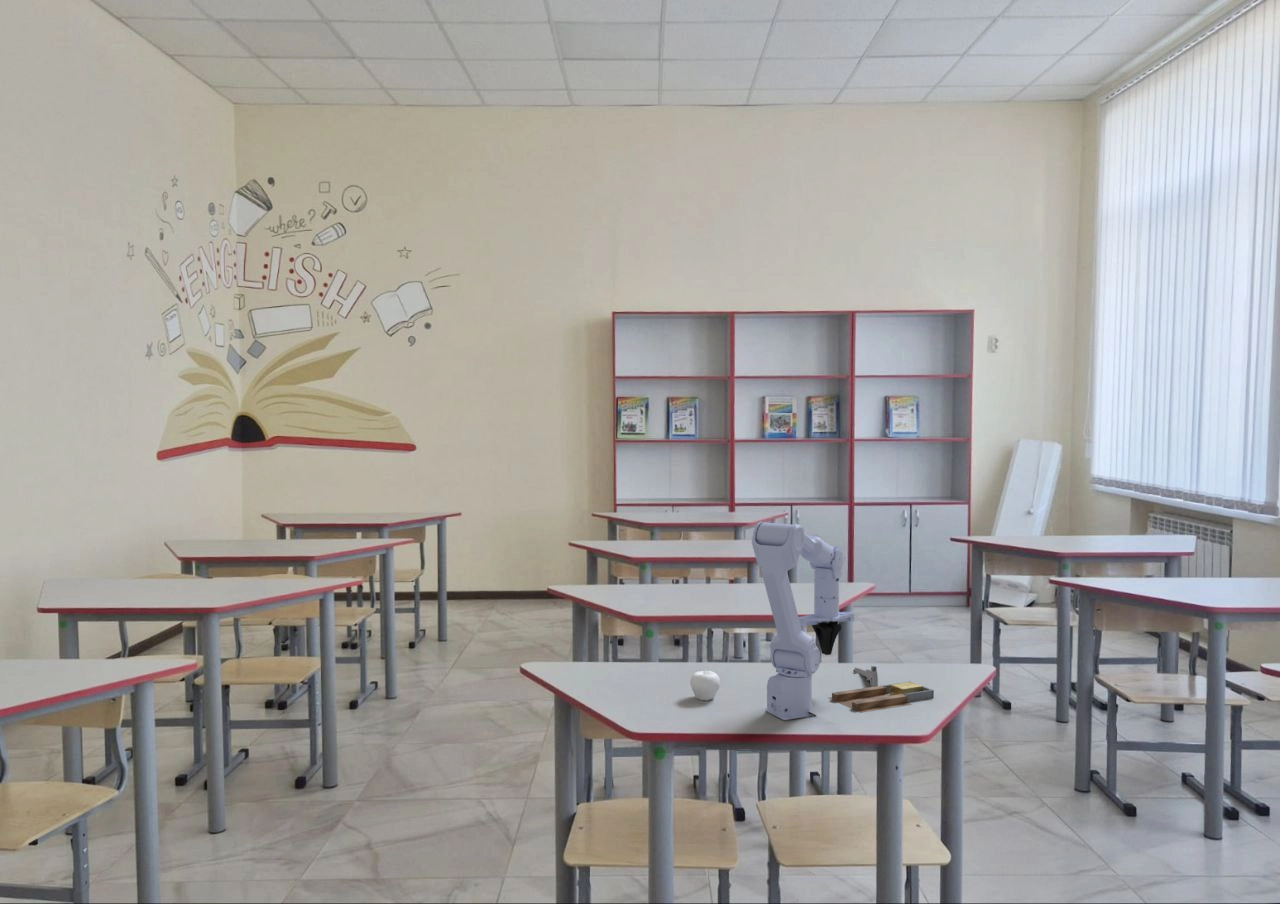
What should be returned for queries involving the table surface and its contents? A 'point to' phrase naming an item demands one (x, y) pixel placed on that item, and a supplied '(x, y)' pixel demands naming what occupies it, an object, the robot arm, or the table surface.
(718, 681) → the plain white apple
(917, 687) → the block
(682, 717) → the table surface
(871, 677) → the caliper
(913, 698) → the tray
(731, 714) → the table surface
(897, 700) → the slot board
